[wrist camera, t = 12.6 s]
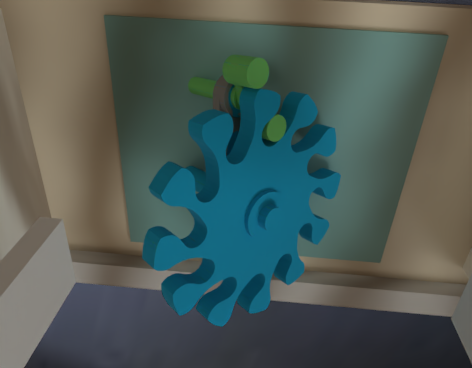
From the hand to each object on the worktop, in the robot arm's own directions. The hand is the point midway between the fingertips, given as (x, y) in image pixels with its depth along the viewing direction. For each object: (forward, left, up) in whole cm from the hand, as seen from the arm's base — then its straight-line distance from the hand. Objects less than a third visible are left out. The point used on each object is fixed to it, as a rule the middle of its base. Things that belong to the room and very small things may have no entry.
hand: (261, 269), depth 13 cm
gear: (0, 0, -8) cm, 8 cm away
